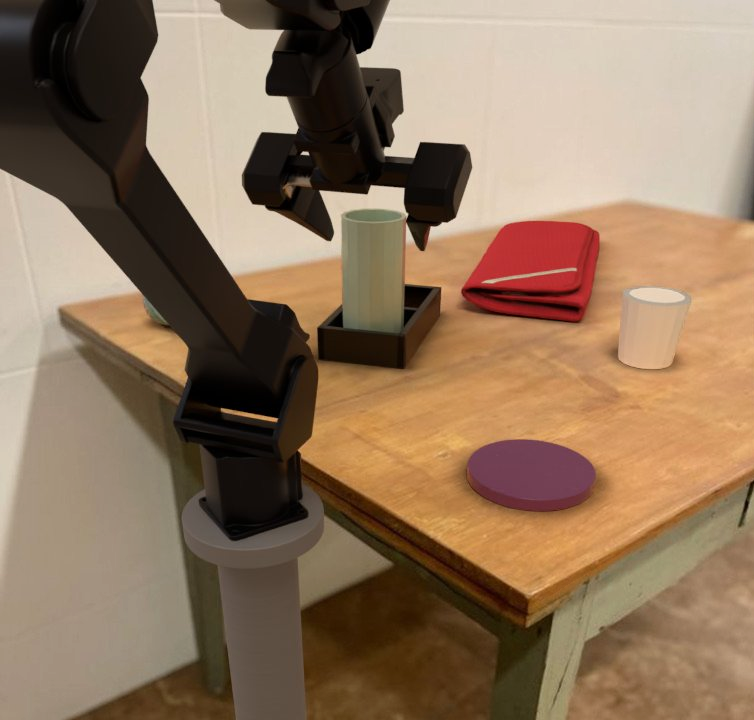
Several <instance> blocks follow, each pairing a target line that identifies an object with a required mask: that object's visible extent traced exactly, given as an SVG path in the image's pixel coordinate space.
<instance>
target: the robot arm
mask: <svg viewBox="0 0 754 720" xmlns="http://www.w3.org/2000/svg"><path fill="white" fill-rule="evenodd" d="M213 1H214V2H215V3H218V4H219V11H220V12H221V13H222V15H223V16H224V17H226V18H228V19H229V20H231V21H233V22H235V23H236V24H238V25H240V26H242V27H243V28H245V29H248V30H255V31H256V30H260V31H262V30H263V31H282V32H281V34H280V35H279V37H278V39H277V42H276V44H275V46H274V48H273V51H272V53H271V64H270V65H269V69H268V71H267V74H266V75H265V87H264V90H265V94H266V95H267V96H268V97H280V98H281V97H283V98H286V99H287V102H288V105H289V108H290V111H291V113H292V115H293V117H294V120H295V122H296V125H297V127H298V128H297V129H296V130H297V131H296V133H287V132H275V131H274V132H272V131H261V132H260V133H259V135H258V136H257V138H256V141H255V142H254V145H253V148H252V150H251V152H250V154H249V156H248V159H247V161H246V163H245V165H244V168H243V171H242V173H241V186H242V189H243V190H244V192H245V194H246V196H247V198H248V200H249V202H250V203H251V205H253V206H255V205H256V206H262V207H263V206H264V207H265V209H266V210H267V211H269V212H274V213H277V214H278V215H280V216H282V217H284V218H286V219H288V220H290V221H292V222H294V223H295V224H298V225H299V226H301V227H302V228H305V229H307V230H308V231H309V232H311V233H313V234H315V235H316V236H318V237H320V238H321V239H323V240H325V241H326V242H332V240H333V238H334V237H335V236H334V235H335V230H334V225H333V221H332V218H331V216H330V214H329V211H328V209H327V206H326V204H325V202H324V198H323V196H322V194H321V192H332V193H343V194H344V193H345V194H354V195H355V194H356V195H358V194H359V195H365V196H367V195H368V194H369V192H370V189H371V187H373V186H374V187H384V188H385V187H386V188H398V189H404V191H403V193H404V194H403V206H404V209H405V214H407V215H406V226H407V229H408V230H409V232H410V234H411V237H412V238H413V242H414V244H415V246H416V247H417V249H418V250H419V251H420V252H425V251H426V249H427V246H428V242H429V237H430V232H431V229H432V228H431V227H433V228H434V227H435V228H436V227H439V226H441V225H442V224H443V223H446V224H448V223H450V222H451V221H453V220H455V219H456V218H457V216H458V213H459V209H460V208H461V203H462V201H463V197H464V195H465V192H466V189H467V185H468V182H469V179H470V177H471V173H472V170H473V162H472V155H471V152H470V150H469V148H468V146H467V145H466V144H465V143H451V142H450V143H447V142H433V141H420V142H419V143H418V147H417V149H416V153H415V155H414V157H408V156H394V155H393V156H391V155H385V149H386V148H391V147H392V145H393V142H394V140H395V137H396V135H395V131H394V127H393V124H394V123H395V122H396V120H397V118H398V117H399V116H402V114H403V113H404V111H405V109H404V107H405V106H404V96H403V83H402V72H401V70H400V69H398V68H393V67H363V66H360V63H359V59H358V55H360V54H362V53H365V52H366V51H367V50H371V49H372V47H373V44H374V42H375V39H376V37H377V34H378V32H379V29H380V27H381V24H382V22H383V20H384V16H385V14H386V12H387V9H388V7H389V4H390V1H391V0H213ZM158 40H159V31H158V25H157V19H156V12H155V8H154V1H153V0H0V170H2V171H4V172H5V173H7V174H9V175H11V176H12V177H15V178H17V179H19V180H21V181H23V182H25V183H27V184H28V185H30V186H32V187H34V188H36V189H38V190H40V191H42V192H44V193H46V194H48V195H49V196H52V197H53V198H55V199H57V200H58V201H60V202H61V203H62V204H63V205H64V206H65V207H66V208H67V209H68V211H70V213H71V214H72V215H73V216H74V217H75V219H77V221H78V222H79V223H80V224H81V225H82V226H83V227H84V229H85V230H86V231H87V232H88V234H90V236H91V237H92V238H93V239H94V240H95V241H96V243H97V244H98V245H99V246H100V247H101V248H102V250H103V251H104V252H105V253H106V254H107V255H108V256H109V257H110V259H111V260H112V261H113V263H114V264H115V265H116V266H117V267H118V268H119V269H120V271H122V273H123V274H124V275H125V276H126V277H127V278H128V279H129V280H130V282H131V283H132V284H133V285H134V286H135V288H136V289H137V290H138V291H139V293H141V295H142V294H143V295H144V297H145V298H146V299H147V300H148V301H149V302H150V304H151V305H152V306H153V307H154V308H155V309H156V310H157V312H158V313H159V314H160V315H161V316H162V317H163V319H164V320H165V321H166V322H167V323H168V324H169V325H168V326H169V327H170V328H171V330H173V331H174V333H175V334H176V335H177V336H178V337H179V338H180V339H181V341H182V342H183V343H184V344H185V345H186V348H187V354H186V360H185V365H184V372H185V374H186V376H187V379H186V381H185V385H184V388H183V390H182V394H181V397H180V400H179V402H178V405H177V408H176V411H175V414H174V416H173V419H172V424H173V427H174V430H175V432H176V434H177V437H178V439H179V441H180V443H184V444H194V445H199V452H200V459H201V460H200V461H201V468H202V477H203V484H204V489H205V493H206V496H205V497H202V498H200V499H199V506H200V507H201V508H202V509H203V510H204V512H205V513H206V514H207V515H208V516H209V517H210V518H211V519H212V521H213V522H214V523H215V524H216V525H217V526H218V527H219V529H220V530H221V531H222V532H223V533H224V534H225V535H226V536H227V538H228V539H229V540H231V541H239V540H242V539H245V538H248V537H251V536H254V535H257V534H260V533H263V532H266V531H269V530H273V529H276V528H279V527H282V526H285V525H288V524H291V523H294V522H297V521H300V520H304V519H306V518H308V516H309V515H308V510H307V509H306V508H305V507H304V506H303V505H302V504H301V503H300V502H299V500H301V499H302V498H303V484H304V483H303V465H302V452H300V451H299V449H301V448H302V447H303V446H304V445H305V444H306V443H307V442H308V441H309V440H310V439H311V438H312V437H313V431H314V422H315V421H314V420H315V414H316V405H317V397H318V388H319V375H320V373H319V366H318V363H317V361H316V359H315V356H314V353H313V352H312V349H311V347H310V345H309V344H308V341H309V340H310V337H311V335H310V333H309V332H306V331H305V330H304V329H303V328H302V326H301V324H300V322H299V319H298V317H297V315H296V312H295V311H294V310H293V309H292V308H291V307H290V306H289V305H288V304H287V303H280V302H272V301H265V300H257V299H250V298H247V296H246V295H245V294H244V292H243V291H242V289H241V288H240V286H239V284H238V283H237V282H236V280H235V278H234V277H233V276H232V274H231V272H230V271H229V270H228V268H227V267H226V265H225V264H224V262H223V260H222V259H221V257H220V255H218V253H217V251H216V250H215V249H214V247H213V246H212V244H211V243H210V241H209V239H208V238H207V236H206V235H205V234H204V232H203V231H202V229H201V227H200V226H199V225H198V223H197V222H196V220H195V218H194V217H193V216H192V214H191V213H190V211H189V209H188V208H187V206H186V205H185V204H184V202H183V200H182V199H181V198H180V196H179V195H178V193H177V191H176V190H175V189H174V187H173V185H172V184H171V182H170V181H169V180H168V178H167V177H166V175H165V174H164V172H163V171H162V169H161V168H160V166H159V165H158V163H157V162H156V160H155V159H154V157H153V156H152V154H151V152H150V151H149V149H148V147H147V133H148V120H149V106H150V105H149V102H150V98H149V93H148V91H147V88H146V86H145V84H144V83H143V79H142V76H143V74H144V71H145V69H146V67H147V65H148V63H149V61H150V58H151V56H152V55H153V52H154V50H155V48H156V46H157V44H158ZM303 153H308V154H303ZM222 409H224V410H229V411H234V412H240V413H245V414H246V413H247V414H251V415H256V416H261V417H266V418H267V417H268V418H274V419H277V420H276V421H272V420H267V419H261V418H256V417H252V416H251V417H250V416H245V415H241V414H234V413H228V412H224V411H222Z"/></svg>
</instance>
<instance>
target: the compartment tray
mask: <svg viewBox="0 0 754 720" xmlns="http://www.w3.org/2000/svg"><path fill="white" fill-rule="evenodd" d="M441 302H442V286H434V285H433V286H432V285H420V284H411V283H405V292H404V328H403V329H402V330H401V332H400V333H390V332H380V331H370V330H360V329H351V328H343V325H342V303H341V304H340V305H339V306H338V307H337V308H336V309H334V311H333V312H332V313H331V314H329V316H328V317H326V319H324V320H323V322H321V323H320V324H319V325H318V326H317V327H316V334H317V335H316V336H317V337H316V338H317V360H318V361H319V360H320V361H329V362H338V363H347V364H356V365H363V366H365V365H366V366H374V367H382V368H383V367H384V368H391V369H393V368H394V369H399V370H401V369H402V370H404V369H406V367H407V365H408V364H409V362H410V361H411V359H412V357H413V356H414V355H415V353H416V352H417V351H418V349H419V347H420V346H421V345H422V344H423V341H424V340H425V338H426V337H427V336H428V334H429V333H430V331H431V330H432V329H433V327H434V325H435V324H436V322H437V321H438V319H439V318H440V316H441V305H442V304H441Z"/></svg>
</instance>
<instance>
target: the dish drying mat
mask: <svg viewBox="0 0 754 720" xmlns="http://www.w3.org/2000/svg"><path fill="white" fill-rule="evenodd" d="M600 241H601V239H600V232H599V231H598V230H595V229H594V228H593V227H591V226H589V225H587V224H584V223H580V222H574V221H573V222H572V221H557V220H524V221H516V222H510V223H507V224H505V225H503V226H502V227H501V228H500V229H499V231H498V232H497V233H496V235H495V237H494V239H493V240H492V242H491V243H490V244H489V245H488V247H487V249H486V251H485V253H484V254H483V255H482V257H481V259H480V260H479V262H478V264H477V265H476V267H475V268H474V269H473V271H472V272H471V274H470V275H469V277H468V279H467V280H466V282H465V283H464V285H463V286H462V287H461V290H460V292H461V296H462V297H463V299H465V300H466V301H468V303H471V304H472V305H474V306H476V307H478V308H481V309H484V310H487V311H492V312H496V313H500V314H506V315H516V316H523V317H530V318H531V317H532V318H540V319H548V320H557V321H563V322H564V321H566V322H578V321H581V319H582V318H583V317H584V315H585V313H586V310H587V307H588V304H589V302H590V299H591V295H592V291H593V286H594V285H593V284H594V281H595V274H596V266H597V261H598V258H599V252H600V246H601V245H600Z"/></svg>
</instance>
